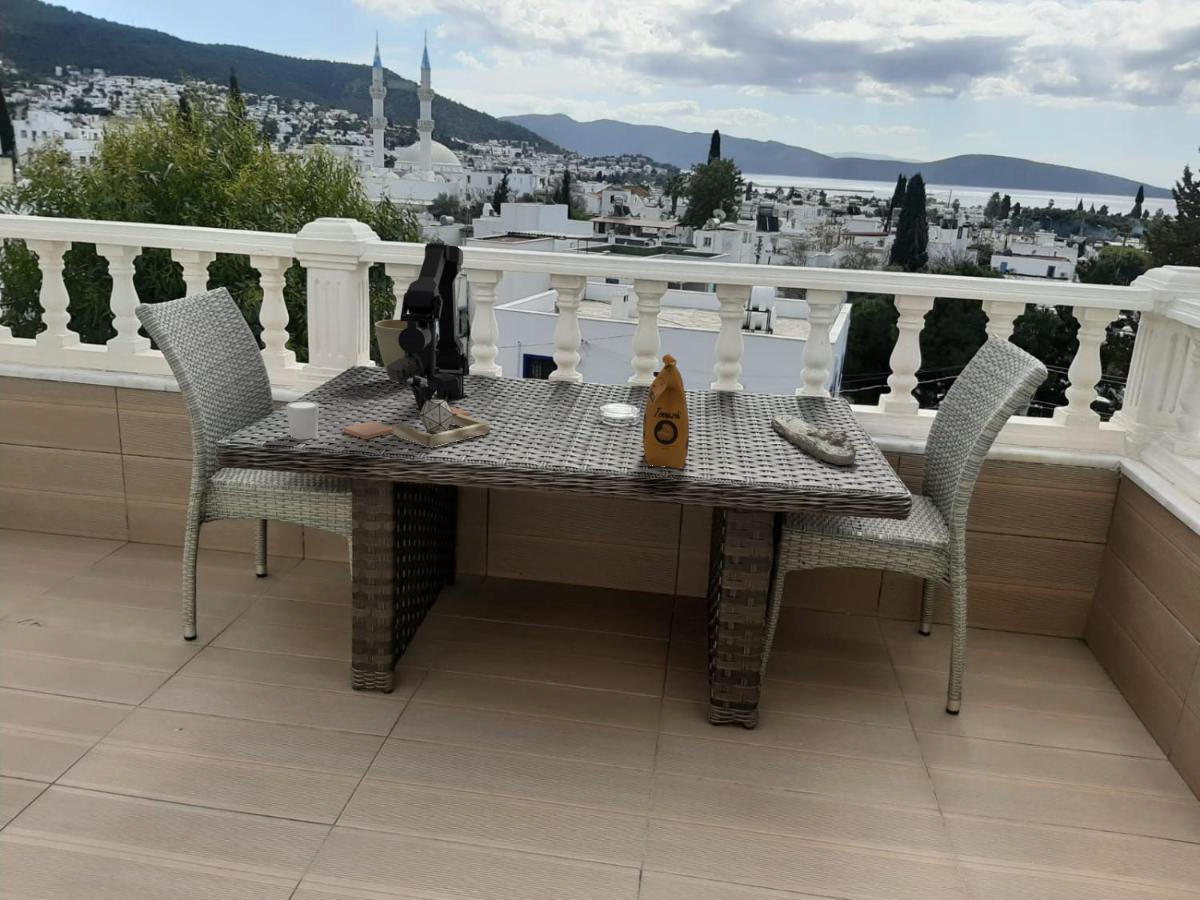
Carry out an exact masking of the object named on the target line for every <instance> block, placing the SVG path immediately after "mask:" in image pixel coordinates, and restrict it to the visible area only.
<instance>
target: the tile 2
mask: <svg viewBox="0 0 1200 900" xmlns="http://www.w3.org/2000/svg"><path fill="white" fill-rule="evenodd" d="M449 407H450V408H451V410H452V412H454V413H458V414H461V415H464V416H468V417H470V416H469V414H470V412H469V411H467V410H463V409H459V408H457V407H453V406H451V405H449Z"/></svg>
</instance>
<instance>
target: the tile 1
mask: <svg viewBox="0 0 1200 900" xmlns="http://www.w3.org/2000/svg"><path fill="white" fill-rule="evenodd" d="M342 429H343V433H345V434H349V435H351V436H353V437H357V438H359V437H360V439H362V440H365V439H366V440H369V438H370V439H373V437H374V438H377V437H376V436H379V437H381V436H380V435H383V436H386V435H385V434H388V435H390V434H389V433H392V432H394V429H393V427H391V426H388V425H387V424H386V425H385V424H382V423H379V422H377V421H368V422H363V423H358V424H353V425H349V426H344V427H343V428H342ZM392 434H393V433H392Z"/></svg>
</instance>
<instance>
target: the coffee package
mask: <svg viewBox="0 0 1200 900" xmlns="http://www.w3.org/2000/svg"><path fill="white" fill-rule="evenodd" d="M677 361H678V360H676V358H674V357H673V356H672V355H671V354H669V353H668V354H665V355H664V356H662V362H663V363H664V366H663V367H662V368H661V370H660V372H659V373H658V374H657V376H656V377H655V378H654V379H653V381H652V383H651V384H650V386H649V390H648V394H647V397H646V398H647V399H646V402H645V403H646V404H645V409H644V415H643V421H642V443H643V444H642V445H643V450H644V455H645V459H646V462H647V464H648V466H650V465H651V466H652V465H653V466H654V467H658V466H665V467H667V468H668V467H671V468H670V469H678V468H677V467H683V468H684V467H685V463H686V459H687V458H688V455H689V447H690V446H689V445H690V444H689V443H690V420H689V419H690V418H689V412H688V411H689V409H688V403H687V397H686V396H687V395H686V393H685V392H686V391H685V387H684V385H685V384H684V381H683V377H682V374H681V373H680V371H679V369H678V367H677V366H676V365H677ZM651 466H650V467H651ZM675 467H676V468H675Z"/></svg>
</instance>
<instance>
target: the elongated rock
mask: <svg viewBox="0 0 1200 900" xmlns="http://www.w3.org/2000/svg"><path fill="white" fill-rule="evenodd" d="M770 426H771V427H773V429H774V430H776V431H777V432H778V433H779V434H780V435H781V436H782V437H785V438H786V440H787V441H789V442H790V443H791V444H793V445H796V446H798V447H799V448H800V449H801V450H802V451H805V452H806V453H807V454H810V455H812V456H813V457H815V458H816V459H817V460H819V461H821V460H823V461H825V462H826V463H831V464H834V465H837V466H838V465H839V466H840V465H841V466H842V465H844V466H845V465H852V464H853V463H854V462H855V459H856V457H857V456H856V455H857V450H856V449H855V445H854V444H852V442H851V441H849V439H848V436H849V435H847V433H846V432H844V431H831V430H828V431H824V430H821V429H820V428H817V427H815V426H814V425H811V424H810V423H808V422H806V421H805V420H803V419H800V418H799V416H794V415H793V414H779V415H775V416H773V417H772V418H771V421H770Z"/></svg>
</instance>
